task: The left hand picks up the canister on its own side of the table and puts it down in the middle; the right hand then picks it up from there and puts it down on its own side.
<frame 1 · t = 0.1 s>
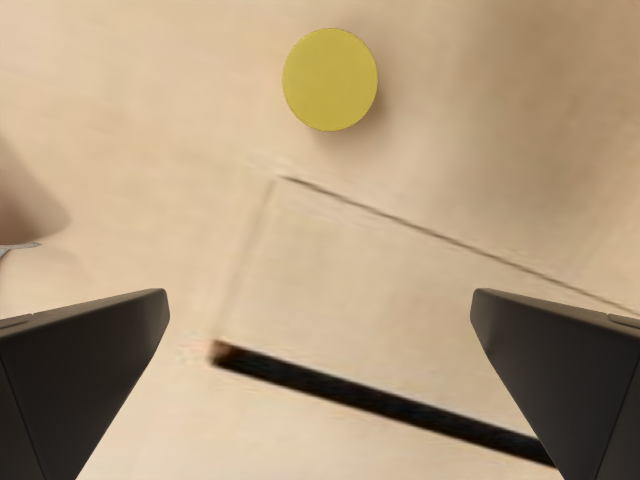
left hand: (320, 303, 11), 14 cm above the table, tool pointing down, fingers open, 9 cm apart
canister: (328, 82, 23), on the table
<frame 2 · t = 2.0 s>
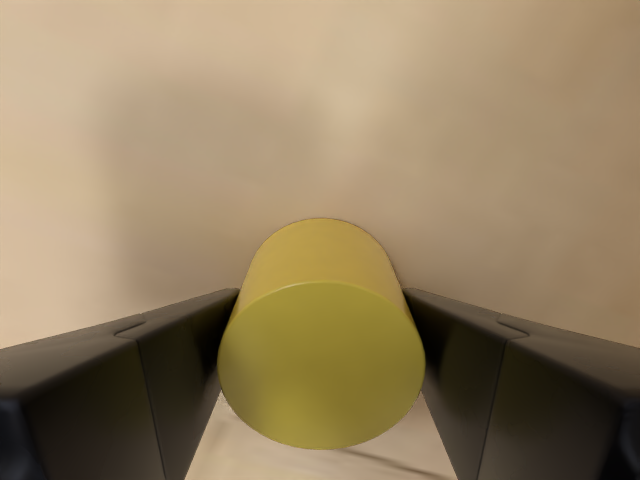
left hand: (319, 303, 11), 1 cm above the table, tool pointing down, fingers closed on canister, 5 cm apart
canister: (320, 287, 12), on the table, touching left hand
when the left hand's fingers open (2 cm above the table, at t = 9.4 s): canister stays where it is, on the table.
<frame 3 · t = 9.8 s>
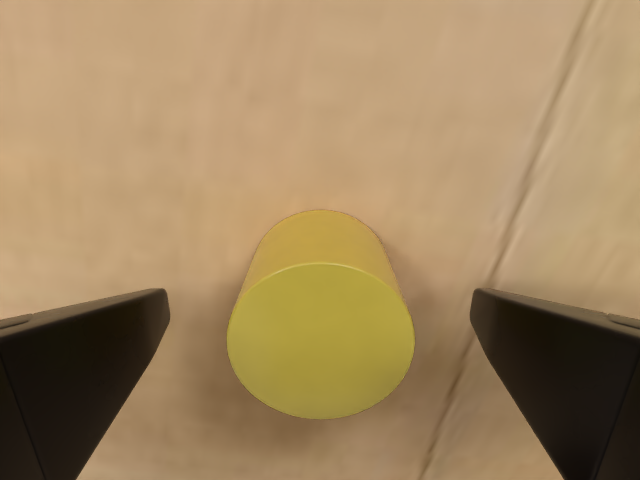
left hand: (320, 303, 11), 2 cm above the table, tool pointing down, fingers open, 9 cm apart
canister: (320, 274, 13), on the table
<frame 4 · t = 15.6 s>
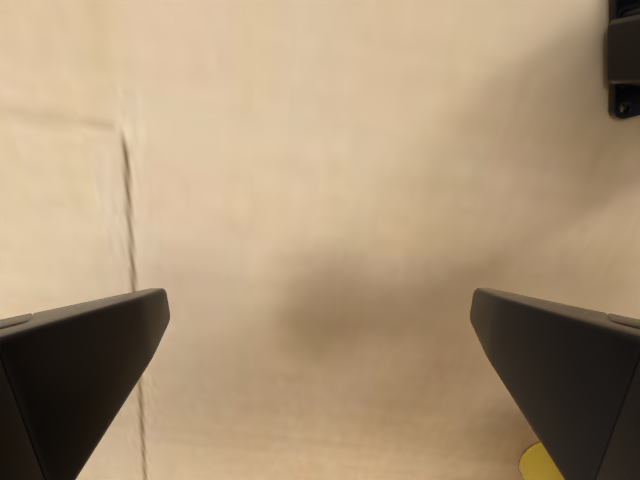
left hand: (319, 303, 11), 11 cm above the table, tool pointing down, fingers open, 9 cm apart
canister: (550, 461, 29), on the table, touching right hand
when the right hand's fingers open (2 cm above the table, at t = 21.9 s): canister stays where it is, on the table.
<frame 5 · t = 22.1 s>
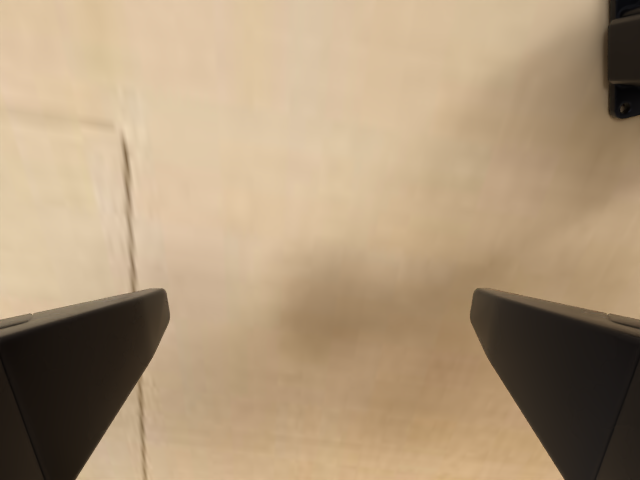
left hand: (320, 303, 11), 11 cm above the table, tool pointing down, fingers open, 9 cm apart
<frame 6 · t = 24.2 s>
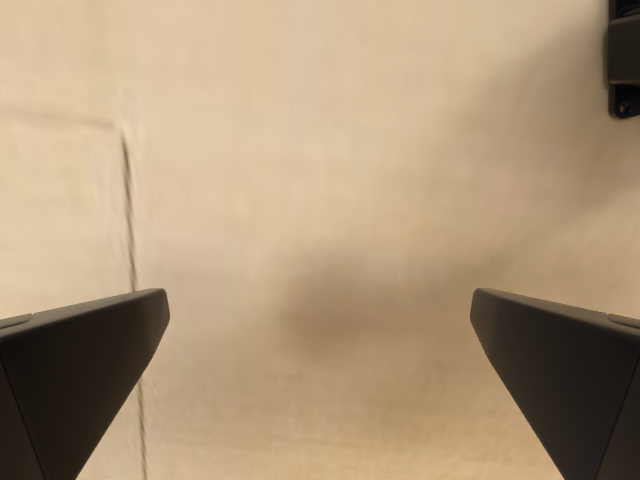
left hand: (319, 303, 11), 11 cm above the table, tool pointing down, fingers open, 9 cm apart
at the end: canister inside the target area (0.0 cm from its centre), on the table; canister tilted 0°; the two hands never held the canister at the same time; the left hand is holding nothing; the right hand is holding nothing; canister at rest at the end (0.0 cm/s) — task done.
